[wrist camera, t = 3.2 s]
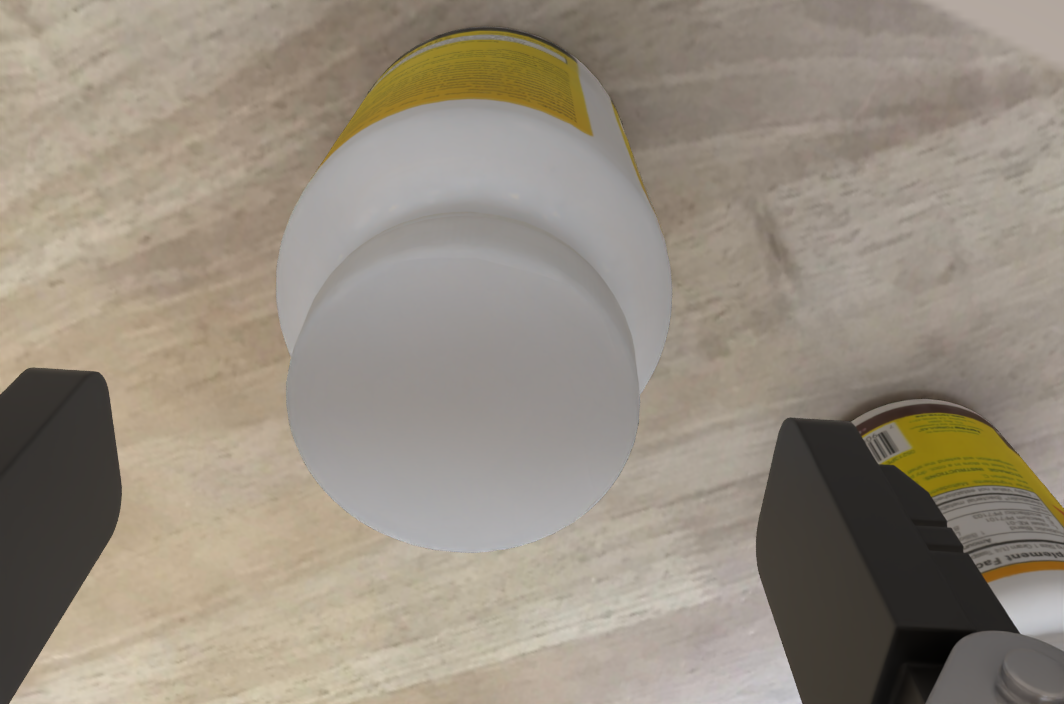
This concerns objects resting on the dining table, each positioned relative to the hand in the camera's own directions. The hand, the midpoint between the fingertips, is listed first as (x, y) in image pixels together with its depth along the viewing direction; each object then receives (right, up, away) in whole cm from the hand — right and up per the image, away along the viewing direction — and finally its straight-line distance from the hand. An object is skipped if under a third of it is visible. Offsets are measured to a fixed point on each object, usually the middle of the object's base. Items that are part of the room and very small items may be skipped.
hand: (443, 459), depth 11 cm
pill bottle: (0, +6, +12) cm, 13 cm away
